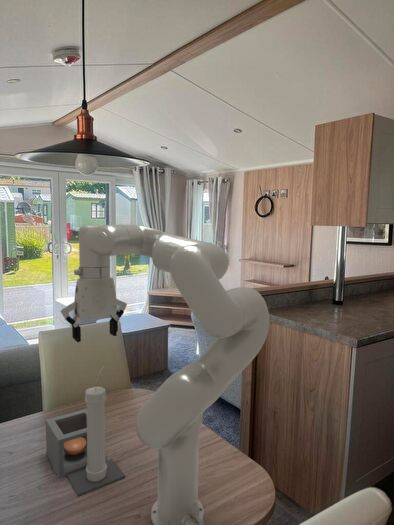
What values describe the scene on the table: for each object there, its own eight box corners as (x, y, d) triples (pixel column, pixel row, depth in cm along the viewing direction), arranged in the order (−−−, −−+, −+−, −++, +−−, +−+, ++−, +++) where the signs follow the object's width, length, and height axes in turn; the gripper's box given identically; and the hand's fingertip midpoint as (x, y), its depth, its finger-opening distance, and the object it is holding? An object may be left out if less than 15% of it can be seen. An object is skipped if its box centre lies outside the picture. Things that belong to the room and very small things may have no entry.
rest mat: (125, 477, 105) (125, 475, 105) (77, 496, 97) (77, 494, 97) (112, 460, 112) (112, 458, 112) (67, 477, 105) (67, 475, 104)
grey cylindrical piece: (81, 478, 103) (79, 371, 100) (97, 465, 109) (96, 363, 106) (97, 485, 101) (96, 375, 98) (112, 471, 106) (112, 367, 103)
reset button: (89, 454, 112) (89, 444, 112) (67, 462, 108) (67, 452, 108) (82, 443, 117) (82, 434, 117) (60, 450, 113) (60, 441, 113)
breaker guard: (104, 462, 111) (104, 426, 110) (59, 478, 104) (58, 440, 103) (89, 441, 122) (88, 408, 121) (46, 454, 114) (45, 419, 113)
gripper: (65, 277, 91) (66, 347, 92) (131, 272, 101) (132, 336, 102) (56, 273, 97) (57, 339, 98) (120, 269, 107) (120, 329, 108)
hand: (95, 337), depth 100 cm, fingers open, 9 cm apart
